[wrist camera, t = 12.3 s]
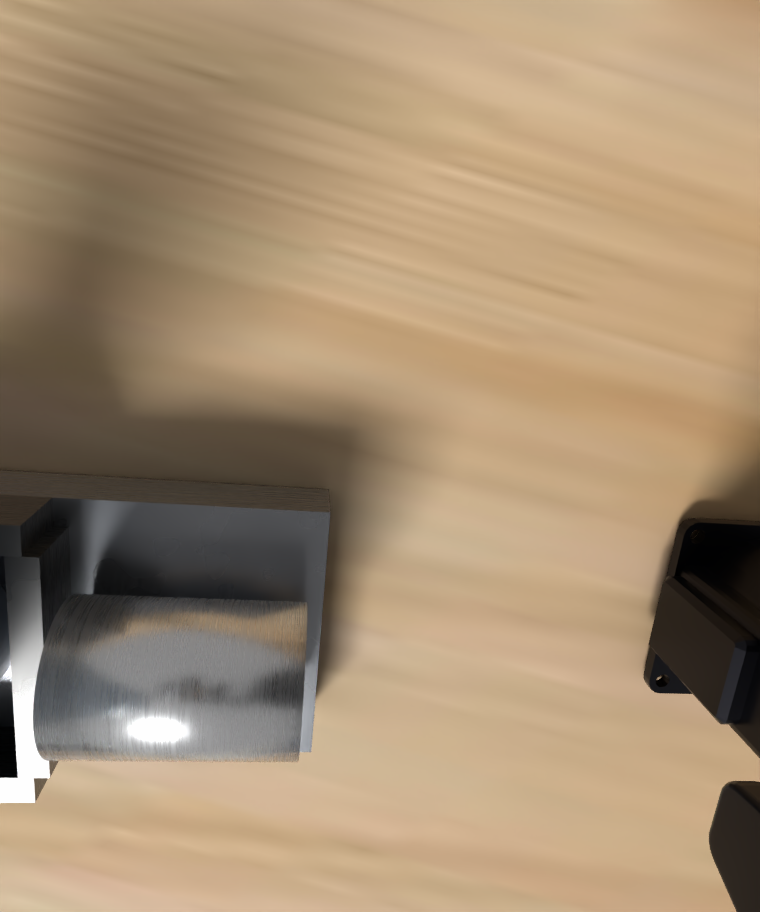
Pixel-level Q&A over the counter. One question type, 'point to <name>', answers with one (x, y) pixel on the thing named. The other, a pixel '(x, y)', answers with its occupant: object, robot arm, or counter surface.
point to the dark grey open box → (157, 622)
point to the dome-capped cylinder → (4, 635)
